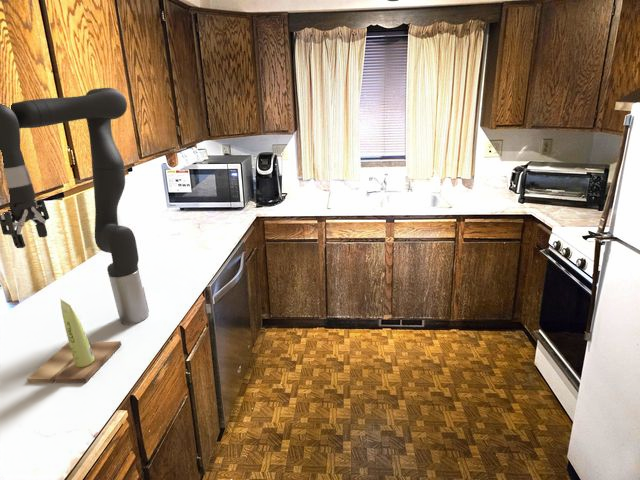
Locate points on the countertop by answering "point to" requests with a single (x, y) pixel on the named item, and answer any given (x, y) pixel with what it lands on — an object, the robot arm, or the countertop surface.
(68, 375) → the plank
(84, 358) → the tube
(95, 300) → the countertop surface
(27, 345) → the countertop surface
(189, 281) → the countertop surface
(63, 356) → the oak board
